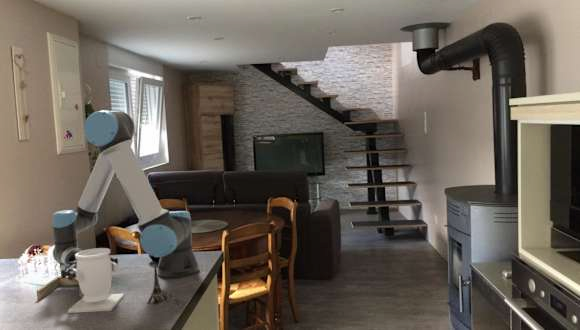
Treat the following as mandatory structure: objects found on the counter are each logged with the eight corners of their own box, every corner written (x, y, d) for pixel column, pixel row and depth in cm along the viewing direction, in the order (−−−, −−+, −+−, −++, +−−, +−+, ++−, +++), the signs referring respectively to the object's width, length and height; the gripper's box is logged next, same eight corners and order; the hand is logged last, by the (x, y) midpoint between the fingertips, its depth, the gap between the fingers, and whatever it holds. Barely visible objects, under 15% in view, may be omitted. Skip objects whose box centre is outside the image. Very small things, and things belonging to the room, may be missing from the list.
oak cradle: (99, 282, 184) (98, 274, 183) (82, 297, 169) (82, 288, 168) (58, 284, 184) (57, 276, 183) (37, 299, 169) (36, 290, 168)
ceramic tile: (124, 295, 168) (124, 293, 168) (110, 310, 155) (110, 308, 155) (85, 297, 168) (85, 295, 168) (68, 312, 155) (67, 310, 155)
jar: (102, 304, 155) (98, 256, 154) (72, 303, 157) (67, 256, 156) (120, 292, 166) (116, 247, 164) (91, 291, 168) (87, 247, 166)
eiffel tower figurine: (183, 305, 158) (180, 263, 157) (150, 313, 153) (147, 270, 152) (167, 292, 171) (164, 253, 170) (137, 299, 166) (134, 259, 164)
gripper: (110, 263, 182) (135, 275, 165) (40, 278, 167) (61, 294, 151) (108, 242, 181) (134, 253, 165) (38, 256, 167) (58, 269, 150)
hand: (99, 272), depth 158 cm, fingers open, 10 cm apart
